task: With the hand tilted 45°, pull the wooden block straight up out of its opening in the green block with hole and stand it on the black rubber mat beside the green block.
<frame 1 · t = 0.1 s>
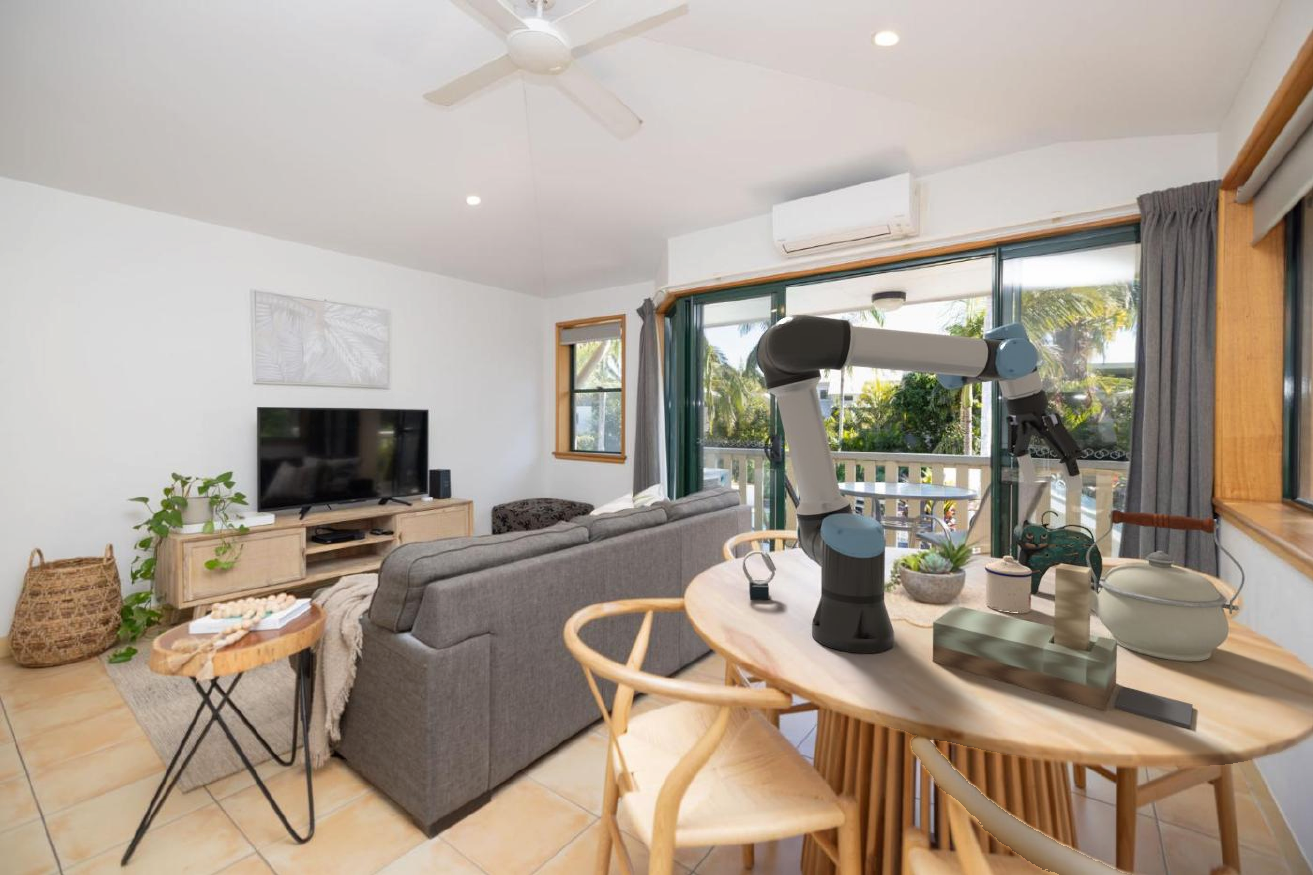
hand: (1052, 486, 123), 28 cm above the table, tool tilted 20°, fingers open, 13 cm apart
watch: (759, 597, 136), on the table
ceramic cat: (1055, 591, 139), on the table
wooden block: (1071, 666, 90), point 3 cm above the table, touching green block with hole
rubber mat: (1154, 707, 83), on the table
teacup with lid: (1004, 606, 128), on the table
kettle: (1146, 644, 107), on the table
green block with hole: (1020, 671, 95), on the table
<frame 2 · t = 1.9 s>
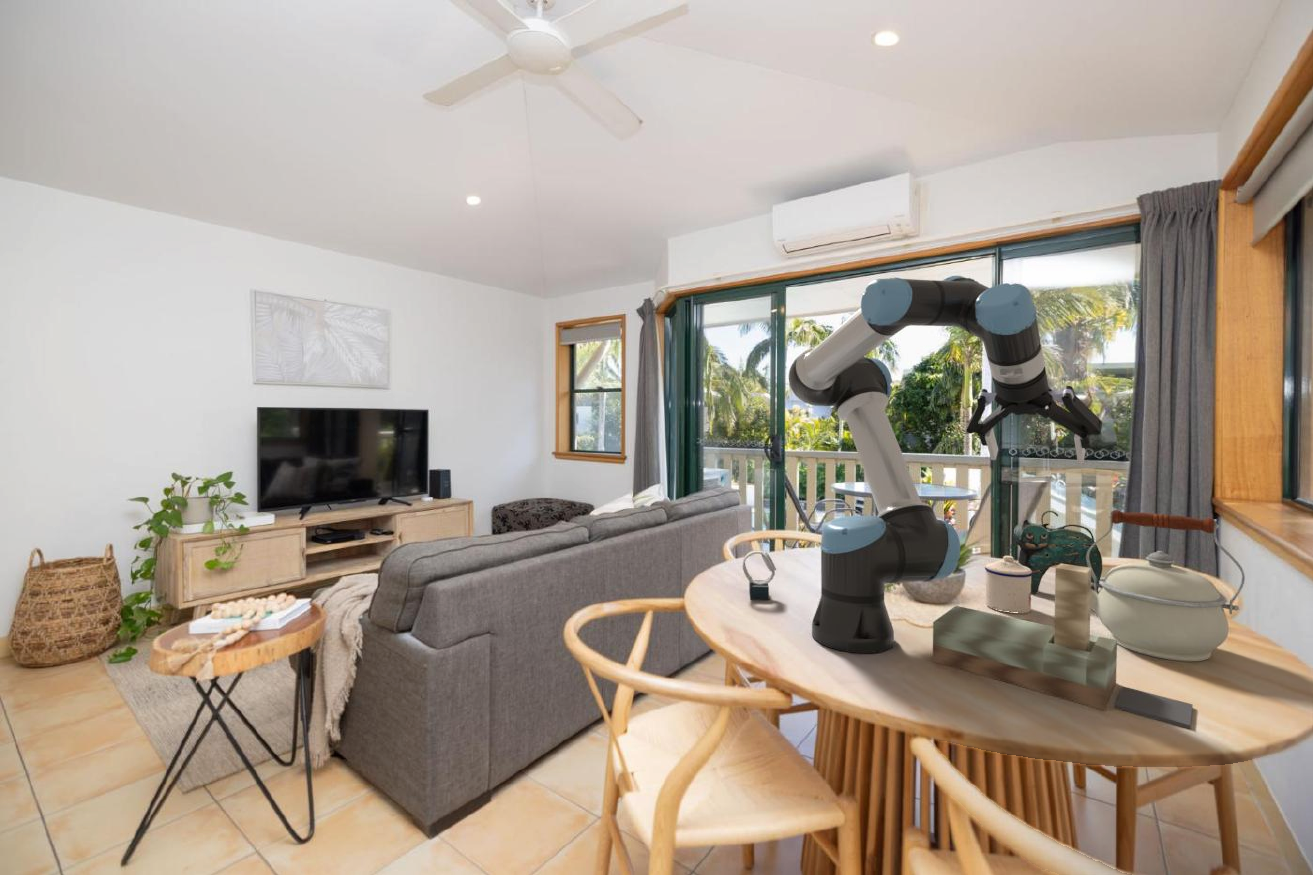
hand: (1036, 456, 105), 36 cm above the table, tool tilted 45°, fingers open, 13 cm apart
nothing on the table moved.
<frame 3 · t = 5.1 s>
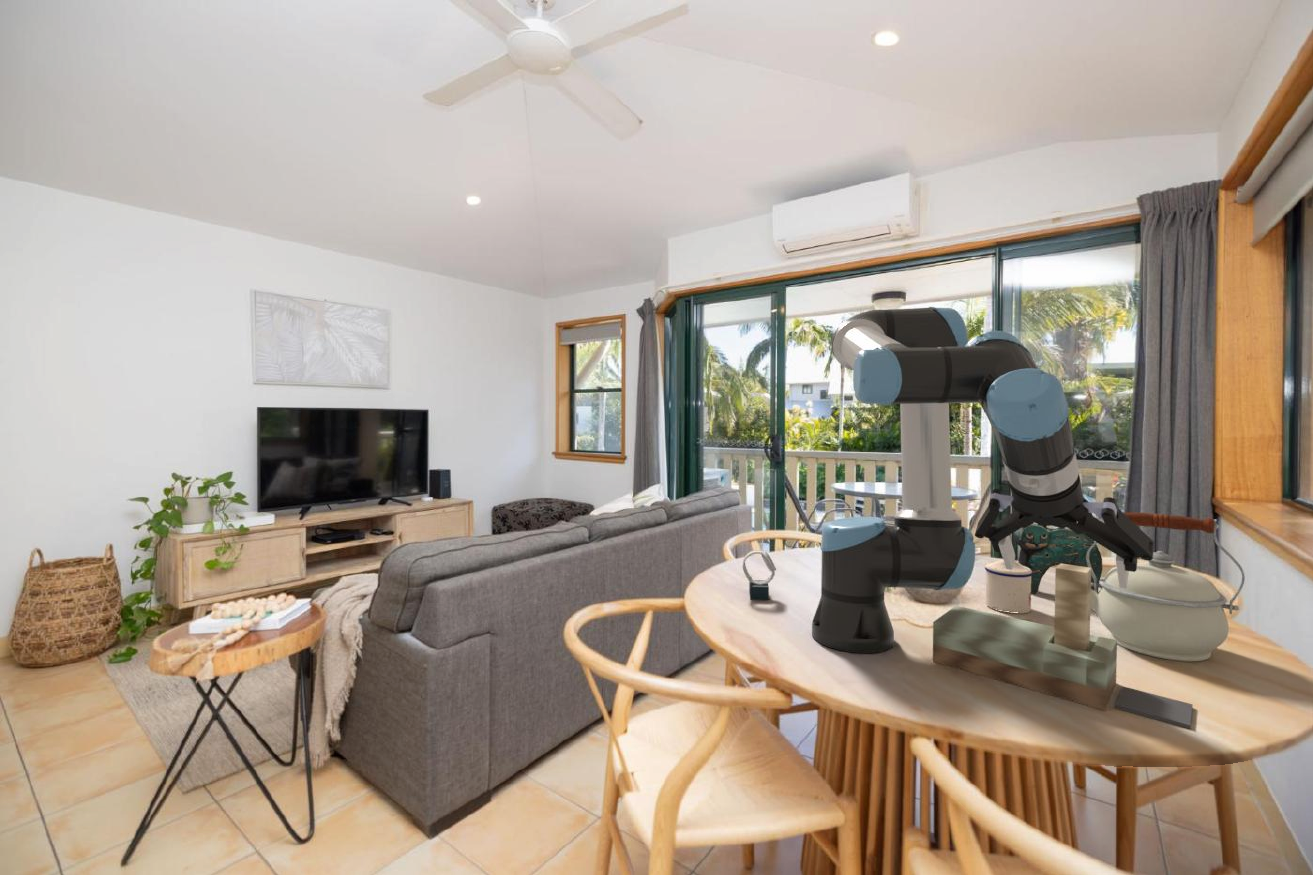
hand: (1064, 570, 83), 21 cm above the table, tool tilted 45°, fingers open, 13 cm apart
nothing on the table moved.
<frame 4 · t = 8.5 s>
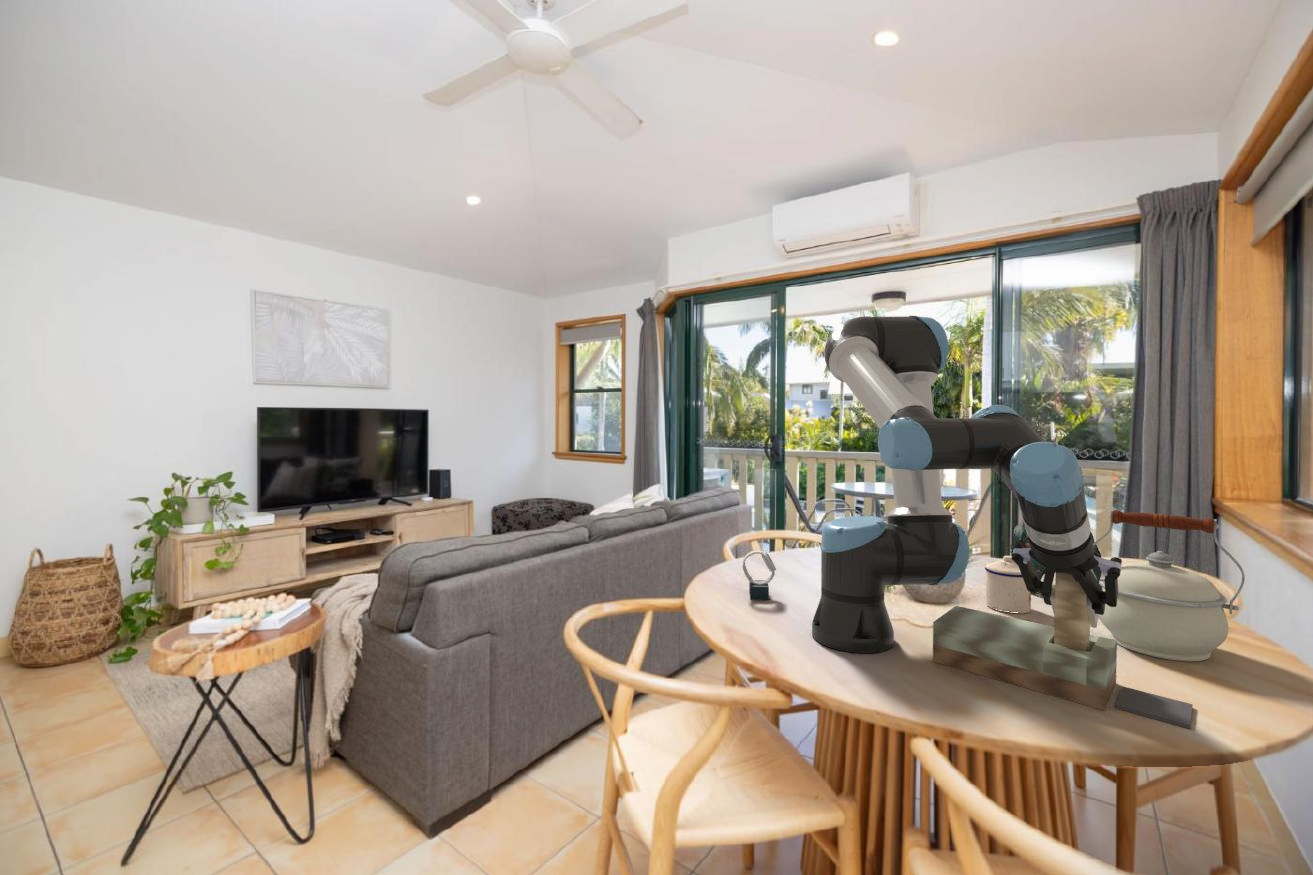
hand: (1076, 616, 93), 10 cm above the table, tool tilted 45°, fingers closed on wooden block, 4 cm apart
wooden block: (1071, 666, 90), point 3 cm above the table, touching gripper, green block with hole
everything else where it was.
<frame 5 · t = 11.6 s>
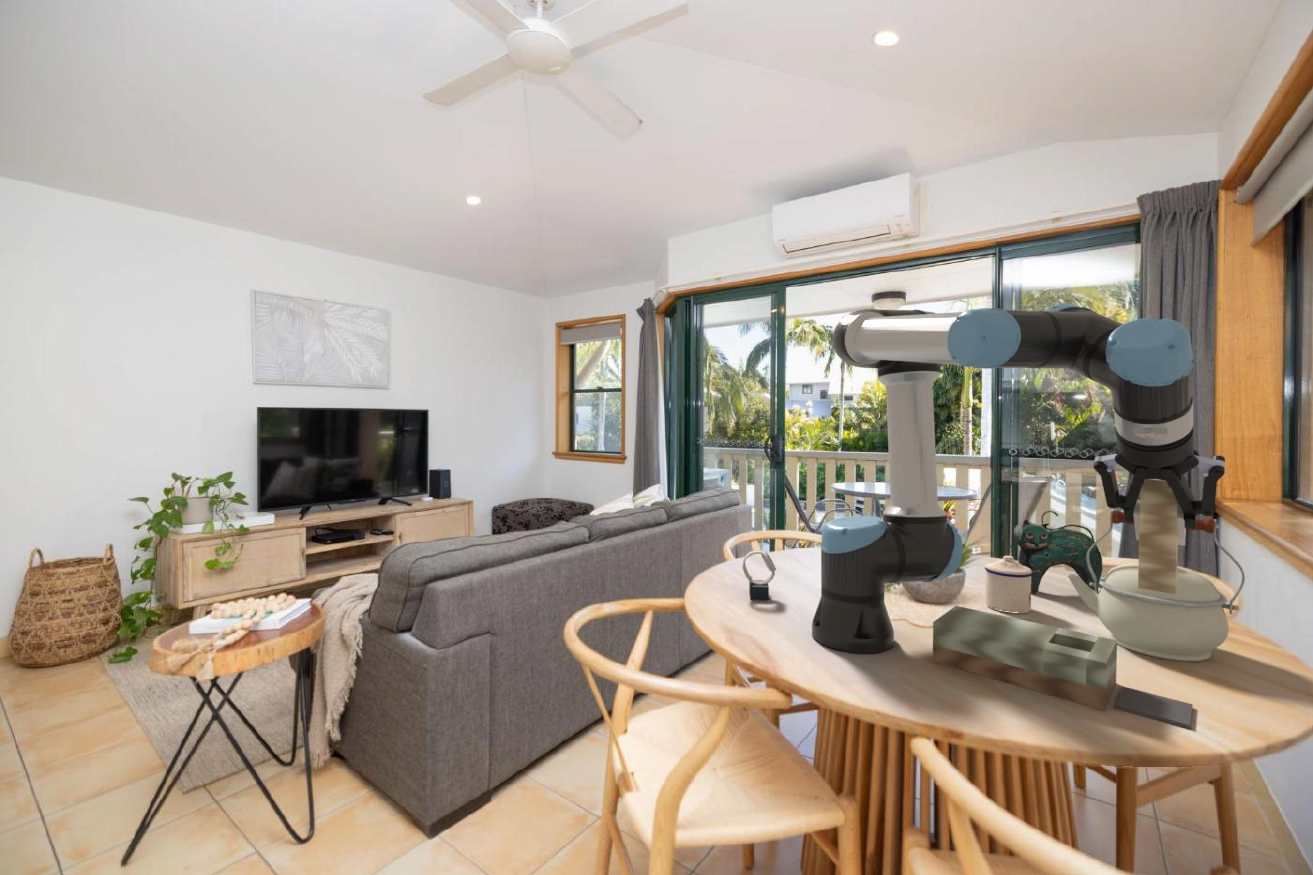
hand: (1160, 535, 85), 25 cm above the table, tool tilted 45°, fingers closed on wooden block, 4 cm apart
wooden block: (1157, 588, 83), point 18 cm above the table, touching gripper
everything else where it was.
when the fingers open (10 cm above the table, at t = 14.5 s): wooden block drops 2 cm, resting on rubber mat.
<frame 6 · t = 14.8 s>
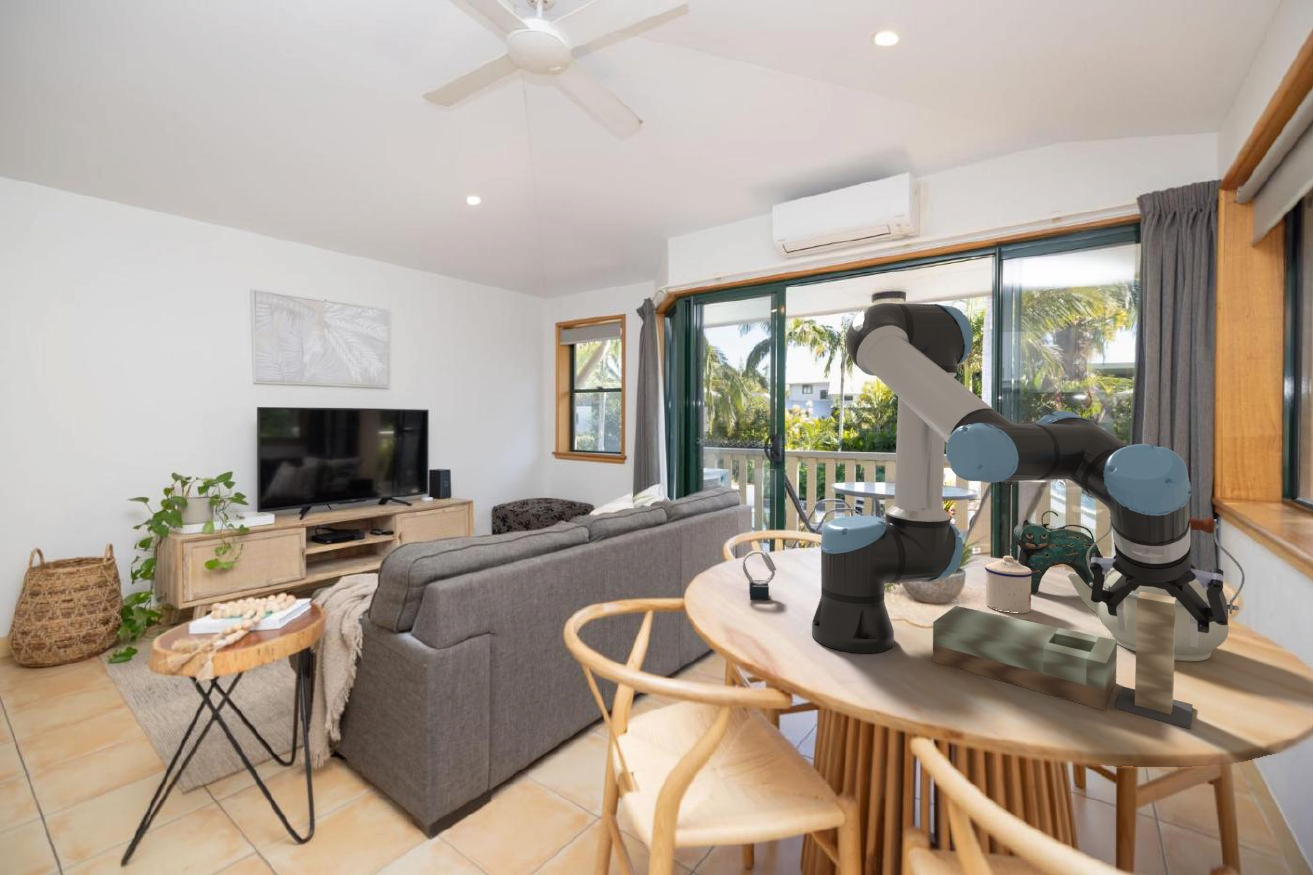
hand: (1157, 631, 85), 11 cm above the table, tool tilted 45°, fingers open, 7 cm apart
wooden block: (1153, 704, 83), resting on rubber mat
everything else where it was.
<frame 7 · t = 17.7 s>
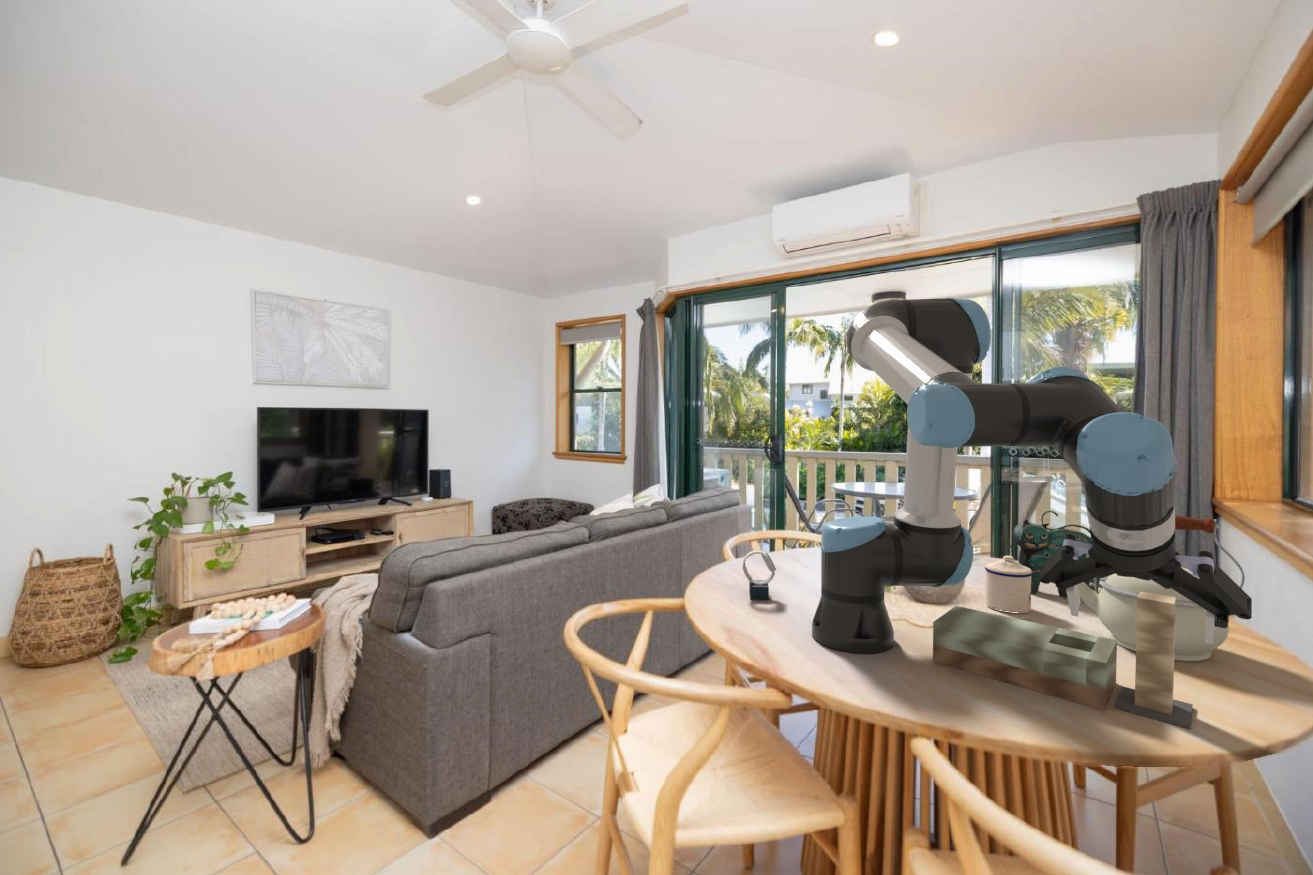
hand: (1138, 620, 76), 16 cm above the table, tool tilted 45°, fingers open, 13 cm apart
nothing on the table moved.
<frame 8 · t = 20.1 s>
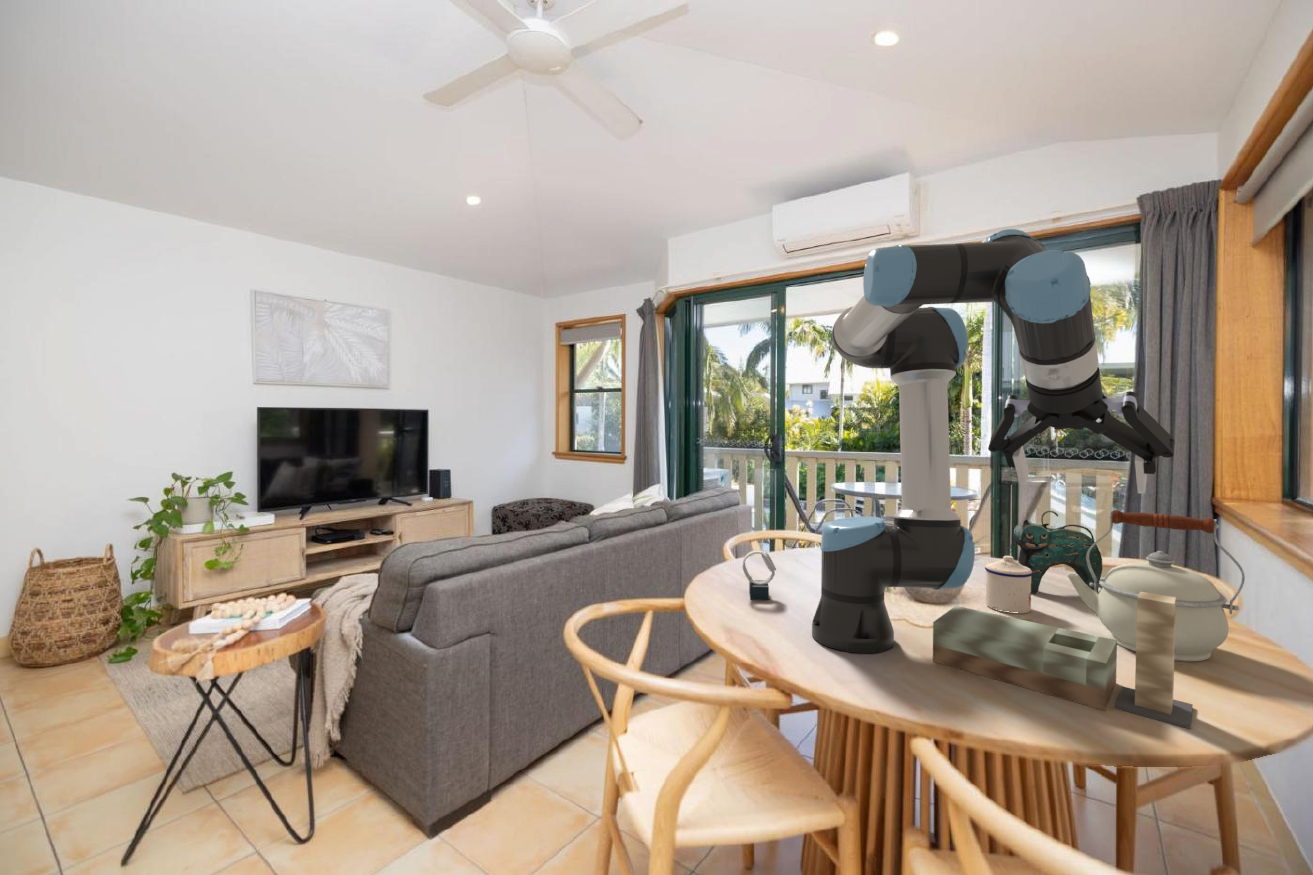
hand: (1079, 482, 81), 34 cm above the table, tool tilted 45°, fingers open, 13 cm apart
nothing on the table moved.
at the end: wooden block inside the target area on the rubber mat (0.1 cm from its centre), point 0.5 cm above the rubber mat's base; the gripper is holding nothing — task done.
